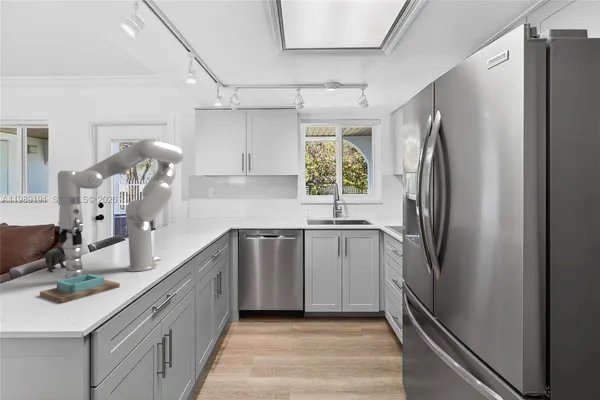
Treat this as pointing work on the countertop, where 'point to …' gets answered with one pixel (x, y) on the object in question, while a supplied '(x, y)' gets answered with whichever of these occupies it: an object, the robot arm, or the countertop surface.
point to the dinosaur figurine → (54, 258)
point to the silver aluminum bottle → (72, 258)
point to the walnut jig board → (78, 288)
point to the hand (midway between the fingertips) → (70, 243)
